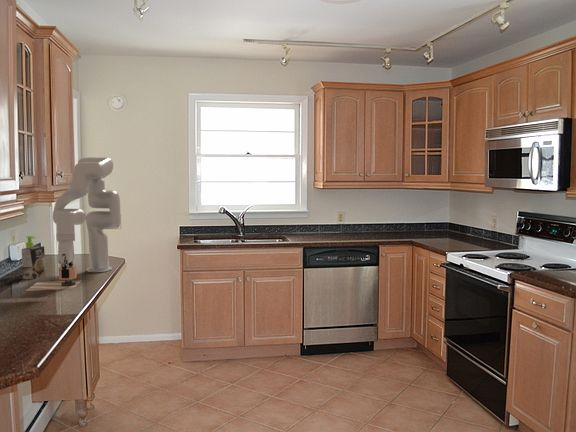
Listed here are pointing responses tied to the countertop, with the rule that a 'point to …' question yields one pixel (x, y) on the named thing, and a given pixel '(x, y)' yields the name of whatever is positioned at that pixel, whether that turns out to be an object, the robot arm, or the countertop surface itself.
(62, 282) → the post board
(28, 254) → the coffee box
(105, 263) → the robot arm
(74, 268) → the collar
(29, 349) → the countertop surface
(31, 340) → the countertop surface
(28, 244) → the soap dispenser
